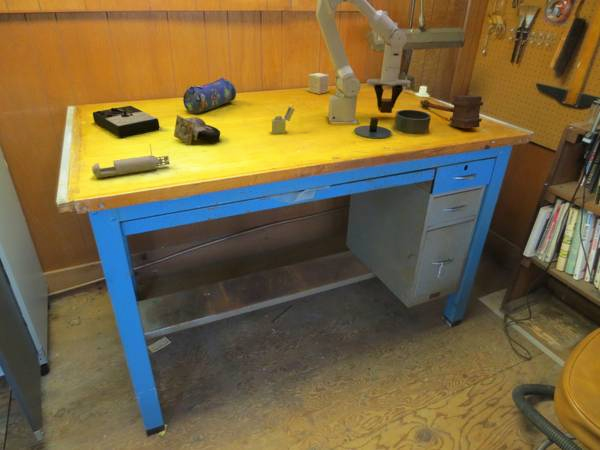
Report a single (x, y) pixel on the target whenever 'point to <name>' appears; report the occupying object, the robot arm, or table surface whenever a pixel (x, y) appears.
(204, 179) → the table surface
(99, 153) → the table surface
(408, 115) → the tin
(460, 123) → the hammer
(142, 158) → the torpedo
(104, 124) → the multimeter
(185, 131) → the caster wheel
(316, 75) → the product box
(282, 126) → the lighter
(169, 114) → the table surface
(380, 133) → the lid
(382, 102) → the block
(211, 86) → the pencil case
